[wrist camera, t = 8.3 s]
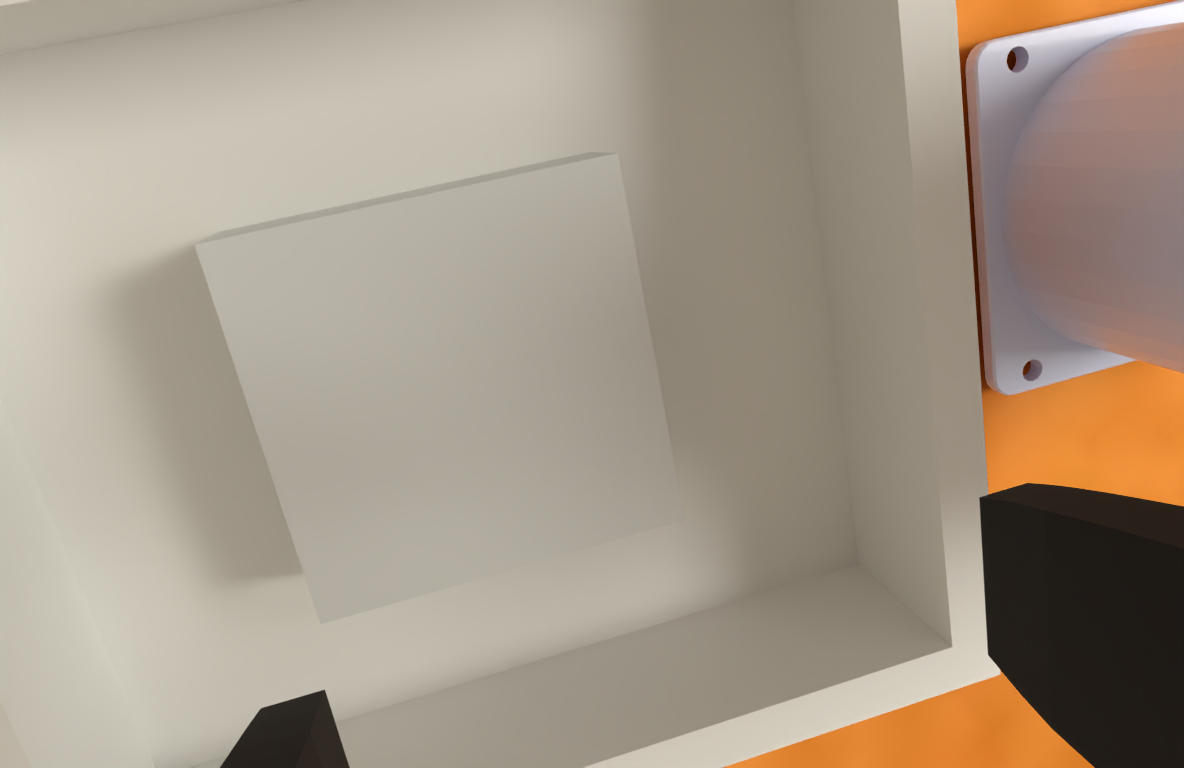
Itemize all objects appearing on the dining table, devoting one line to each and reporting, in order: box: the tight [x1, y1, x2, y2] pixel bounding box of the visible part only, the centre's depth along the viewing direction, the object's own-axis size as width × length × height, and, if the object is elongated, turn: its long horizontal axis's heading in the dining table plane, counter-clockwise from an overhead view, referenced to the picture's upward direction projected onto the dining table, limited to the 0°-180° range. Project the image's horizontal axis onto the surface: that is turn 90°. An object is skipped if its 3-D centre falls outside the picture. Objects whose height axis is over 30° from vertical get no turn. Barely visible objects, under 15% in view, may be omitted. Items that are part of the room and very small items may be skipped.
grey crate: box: [0, 0, 1000, 768], centre depth 16 cm, size 18×16×4 cm
